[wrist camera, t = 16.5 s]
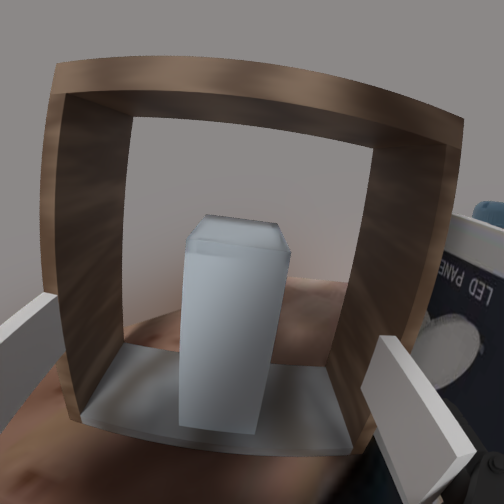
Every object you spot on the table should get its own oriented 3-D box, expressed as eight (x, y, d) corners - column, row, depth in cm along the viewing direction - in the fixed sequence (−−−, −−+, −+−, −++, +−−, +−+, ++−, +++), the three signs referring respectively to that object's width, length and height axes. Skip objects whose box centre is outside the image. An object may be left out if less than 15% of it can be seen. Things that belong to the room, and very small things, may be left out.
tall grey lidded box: (253, 370, 31) (277, 223, 27) (254, 434, 22) (291, 252, 18) (194, 363, 31) (206, 214, 27) (178, 425, 22) (186, 238, 18)
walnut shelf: (333, 374, 33) (387, 131, 26) (362, 453, 22) (464, 118, 15) (114, 347, 32) (124, 95, 25) (70, 419, 20) (56, 63, 14)
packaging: (333, 349, 39) (370, 191, 33) (375, 350, 39) (415, 201, 34) (427, 568, 9) (637, 292, 4) (488, 539, 10) (653, 296, 5)
